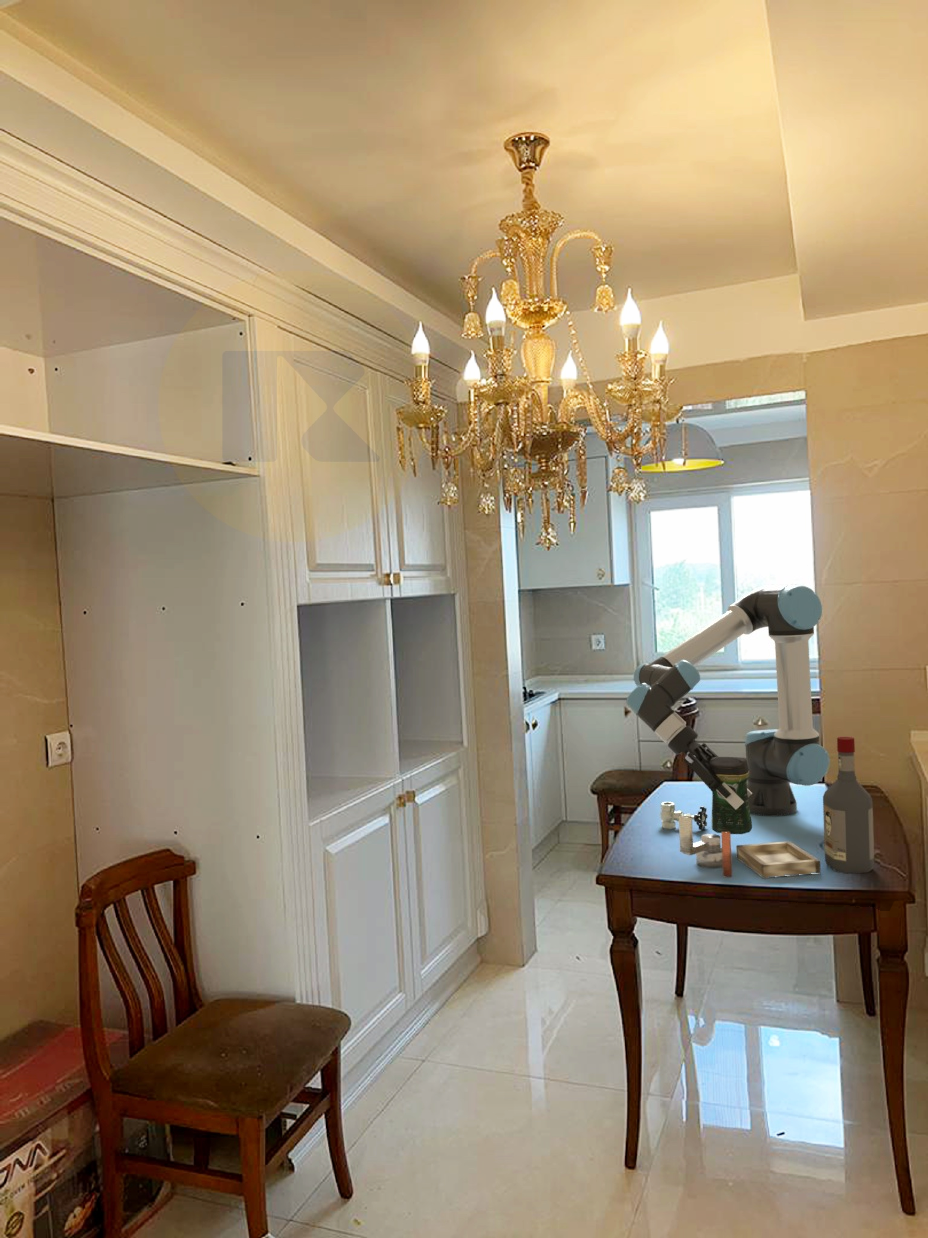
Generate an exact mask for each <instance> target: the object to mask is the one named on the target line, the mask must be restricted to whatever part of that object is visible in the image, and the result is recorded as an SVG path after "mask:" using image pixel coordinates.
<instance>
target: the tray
mask: <svg viewBox="0 0 928 1238" xmlns="http://www.w3.org/2000/svg"><path fill="white" fill-rule="evenodd" d="M735 846H736V859H738V860H739V861H741V862H742V863H743V864H744V865H745V866H747V867H749V868H750V869H751V870H752V871H753V870H754V871H753V872H755V873H756V874H757V873H758V874H757V875H759V876H760V875H761V876H762V877H761V876H760V877H761V878H762V879H769V878H768V877H775V876H785V875H799V874H811V873H821V871H822V870H821V860H820V859H818V858H817V857H815V856H814V855H812V854H811V853H809V852H808V851H806V850H804V849H803V848H801V847H799V846H798V845H796V844H795V843H794V842H791V841H790V840H789V841H775V842H765V843H751V844H737V845H735ZM821 874H822V873H821ZM799 876H800V875H799ZM775 878H776V877H775Z"/></svg>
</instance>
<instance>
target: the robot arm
mask: <svg viewBox="0 0 928 1238" xmlns="http://www.w3.org/2000/svg"><path fill="white" fill-rule="evenodd" d="M822 613H823V605H822V601H821V599H820V597H819V595H818V594H817V593H816V592H815V591H814V590H812V588H810V587H808V586H805V585H799V584H793V583H792V584H782V585H781V584H779V585H778V584H777V585H775V584H772V585H771V584H770V585H769V584H768V585H767V584H766V585H763V586H760V587H758V588H756V589H754V590H752V591H750V592H749V593H747V594H745V595H744V596H742V597H741V598H740V599H738V600H737V601H735V602H733V603H732V604H731V605H729V606H728V607H727V611H726V612H725V613H724V614H722V615H721V616H719V617H718V618H716V619H715V620H713V621H712V622H710V623H709V624H707V625H706V626H704V627H703V628H701V629H700V630H697V632H695V633H694V634H693V635H690V637H688V638H686V639H685V640H684V641H682V642H681V643H679V644H678V645H676V646H674V648H672V649H670V650H669V651H667V652H665V654H663V655H662V656H660V657H659V658H657V659H655V660H654V661H652V662H649V663H648V662H647V663H642V664H640V665H638V666H637V667H636V669H634V671H633V681H634V684H635V685H636V687H635V688H634V689H633V690H632V691H631V692H630V693H629V694H628V696H627V697H626V705H627V706H628V707H629V708H630V710H631V711H632V712H633V713H634V714H635V716H637V717H638V718H639V719H640V720H641V721H642V722H643V723H644V724H646V726H647V727H648V728H649V729H651V731H652V732H653V733H654V734H656V738H657V739H660V740H661V741H663V743H665V744H667V743H668V744H667V747H668V748H669V749H670V750H671V751H672V752H673V753H674V754H675V755H676V756H679V755H681V754H682V753H683V754H684V757H683V759H682V761H683V762H684V763H686V765H688V766H689V767H690V768H691V770H692V771H693V772H694V773H695V774H696V775H697V777H699V778H700V780H701V781H702V782H703V784H704V785H706V786H707V788H708V789H709V790H710V791H711V792H714V791H715V790H717V791H718V792H719V793H720V794H721V795H722V796H723V797H724V798H725V799H726V800H727V801H728V802H729V803H730V804H731V805H732V806H733V807H734V808H735V809H737V808H738V807H739V806H740V805H742V804H743V803H744V801H743V800H742V799H741V798H740V797H739V796H738V795H737V794H736V793H735V792H734V791H733V790H732V789H731V788H730V787H729V786H728V785H727V784H726V783H725V782H724V783H723V784H722V781H721V780H720V779H719V778H718V776H717V775H716V774H715V773H714V772H713V770H712V769H711V767H710V766H709V763H710V760H711V759H712V758H713V757H719V756H718V755H717V754H716V753H715V752H714V751H713V750H712V749H711V748H710V747H709V746H708V745H707V744H706V743H702V744H699V743H698V742H697V741H696V739H697V738H698V737H699V734H698V732H696V731H695V730H694V729H693V728H692V727H691V726H690V725H687V721H685V720H684V719H683V718H682V717H681V716H680V715H679V714H678V713H677V712H676V711H675V710H674V709H672V708H673V706H675V704H677V703H678V702H679V701H680V700H682V699H683V697H685V696H686V695H687V694H688V693H689V692H690V691H692V690H693V689H694V687H696V686H697V685H698V684H699V682H701V675H700V673H699V670H698V669H697V668H696V666H697V667H698V665H699V664H701V663H703V662H704V661H705V660H708V659H709V658H710V657H711V656H713V655H714V654H716V653H717V652H719V651H720V650H722V649H724V647H726V646H727V645H729V644H731V643H732V642H733V641H734V640H736V639H738V638H739V637H741V636H742V635H750V634H752V633H753V632H754V631H757V630H760V629H762V628H768V629H767V630H768V637H769V638H770V639H772V640H773V642H774V650H775V666H776V667H775V669H776V670H775V671H776V685H777V686H776V687H777V689H776V690H777V704H778V705H777V709H778V724H779V725H778V726H779V727H778V729H777V728H775V729H774V728H773V729H760V730H759V729H758V730H753V731H749V732H747V733H746V735H745V740H744V741H745V744H744V747H745V758H746V760H747V764H748V769H749V777H748V779H747V794H748V801H749V807H750V813H751V815H757V816H766V817H778V816H779V817H780V816H787V815H792V814H795V813H796V812H797V810H798V805H797V804H798V802H797V800H796V798H795V795H794V791H793V789H792V787H791V784H793V785H797V786H798V785H800V786H805V787H807V786H808V787H809V786H810V787H811V786H814V785H816V784H818V783H819V782H820V781H821V780H823V778H824V777H825V776H826V775H827V773H828V771H829V768H830V761H831V760H830V755H829V753H828V751H827V750H826V749H825V747H824V746H822V745H820V733H819V732H818V730H816V729H815V728H814V721H813V707H812V706H813V704H812V683H811V670H810V669H811V667H810V666H811V665H810V664H811V663H810V662H811V661H810V649H809V648H810V646H809V645H810V644H809V642H810V639H811V638H812V637H813V636H814V635H815V626H816V625H818V623H819V620H821V618H822V615H823V614H822ZM790 783H791V784H790Z"/></svg>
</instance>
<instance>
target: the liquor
mask: <svg viewBox="0 0 928 1238" xmlns="http://www.w3.org/2000/svg"><path fill="white" fill-rule="evenodd" d="M836 742H837V743H836V745H837V746H836V747H837V749H836V750H837V753H838V754H837V758H838V759H837V760H838V761H837V765H838V773H837V775H836V778H837V779H836V780H835V781H834V782H833V783H832V784H831V785H830V786H829V787H828V788H827V789H826V790H825V791H824V793H823V795H822V810H823V811H822V812H823V837H824V839H823V842H824V862H825V863H826V865H827V866H828V867H829V866H830V868H831V869H832V870H833V869H834V872H837V873H841V872H842V873H843V874H848V873H850V874H862V873H863V874H866V873H870V872H871V871H872V870H873V869H874V867H875V843H874V841H875V838H874V809H873V807H874V806H873V804H874V803H873V798H872V796H871V794H870V793H869V792H868V791H867V789H865V788H864V787H863V785H862V784H860V782H859V781H858V780H857V776H856V769H855V766H856V765H855V752H856V750H855V749H856V748H855V747H856V746H855V737H850V736H838V737H837V738H836ZM842 873H841V874H842ZM848 875H849V874H848Z"/></svg>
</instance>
